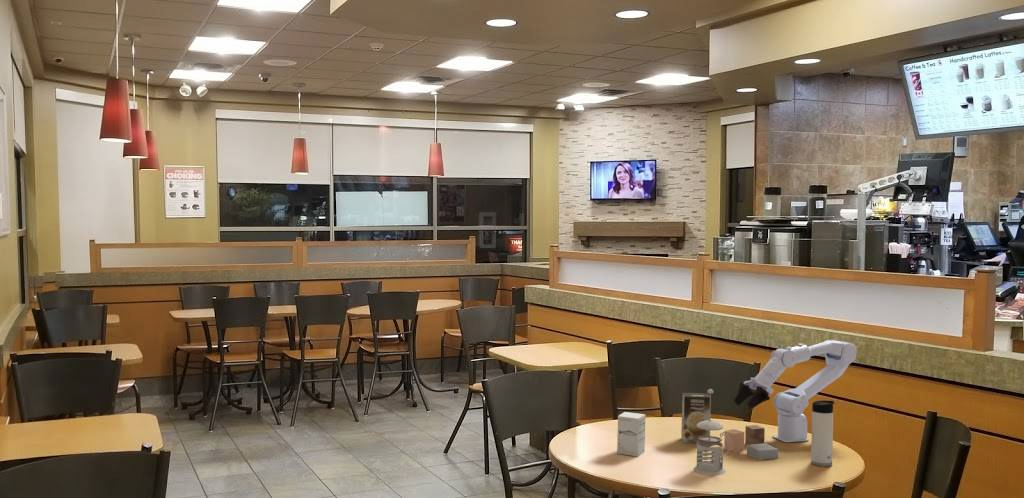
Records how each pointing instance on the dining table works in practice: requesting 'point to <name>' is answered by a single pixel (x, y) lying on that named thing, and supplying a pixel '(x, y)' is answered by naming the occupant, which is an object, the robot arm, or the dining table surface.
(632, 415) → the supplement box
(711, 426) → the french press
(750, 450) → the base block
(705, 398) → the coffee box
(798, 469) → the dining table surface
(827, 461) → the travel mug
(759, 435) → the walnut block
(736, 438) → the terracotta block
